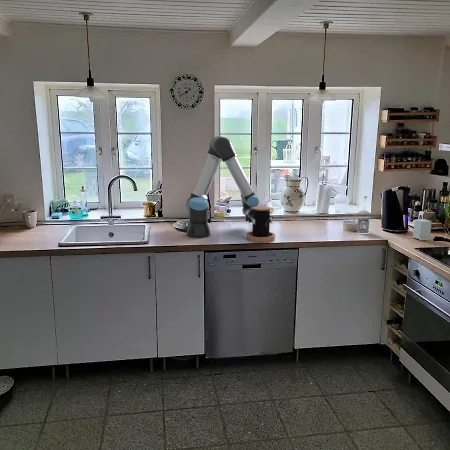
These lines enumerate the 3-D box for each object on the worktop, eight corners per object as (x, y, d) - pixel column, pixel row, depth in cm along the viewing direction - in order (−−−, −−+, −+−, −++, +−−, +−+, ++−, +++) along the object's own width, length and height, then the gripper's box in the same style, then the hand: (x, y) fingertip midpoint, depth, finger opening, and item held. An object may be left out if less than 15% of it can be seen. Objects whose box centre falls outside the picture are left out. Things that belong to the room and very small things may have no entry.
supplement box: (429, 241, 274) (432, 221, 271) (419, 241, 273) (421, 221, 270) (422, 238, 281) (425, 218, 278) (412, 238, 280) (414, 219, 277)
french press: (366, 235, 285) (370, 197, 279) (349, 232, 292) (352, 195, 286) (372, 232, 293) (375, 195, 287) (355, 229, 300) (358, 194, 294)
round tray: (251, 242, 262) (251, 238, 261) (243, 235, 279) (243, 231, 278) (278, 241, 266) (278, 237, 265) (269, 234, 282) (269, 230, 282)
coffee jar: (268, 238, 266) (269, 209, 262) (251, 237, 268) (251, 208, 264) (270, 234, 276) (271, 206, 272) (253, 233, 278) (254, 205, 274)
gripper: (269, 219, 290) (280, 226, 269) (236, 220, 285) (244, 228, 264) (270, 208, 288) (281, 214, 267) (236, 209, 283) (245, 216, 262)
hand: (263, 221), depth 266 cm, fingers closed on coffee jar, 10 cm apart
